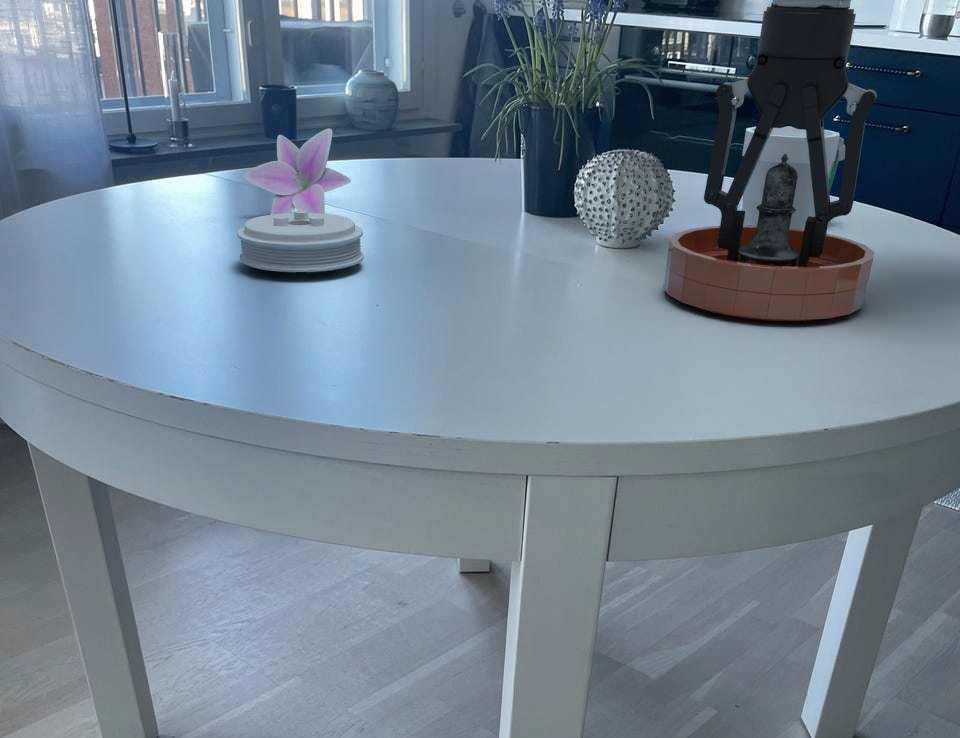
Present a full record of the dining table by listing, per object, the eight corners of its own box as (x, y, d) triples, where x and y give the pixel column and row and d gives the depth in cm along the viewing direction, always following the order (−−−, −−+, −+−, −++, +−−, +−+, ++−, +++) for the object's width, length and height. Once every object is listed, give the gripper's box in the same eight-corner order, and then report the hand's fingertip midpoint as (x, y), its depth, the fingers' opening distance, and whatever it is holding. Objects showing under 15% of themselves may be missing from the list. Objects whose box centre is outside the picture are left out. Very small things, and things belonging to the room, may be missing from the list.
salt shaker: (778, 282, 100) (801, 149, 94) (804, 297, 96) (830, 158, 89) (722, 283, 100) (742, 149, 93) (745, 299, 95) (768, 158, 88)
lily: (240, 224, 128) (226, 157, 120) (302, 175, 133) (293, 107, 124) (311, 267, 125) (302, 201, 116) (373, 216, 130) (368, 149, 121)
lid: (215, 272, 103) (209, 219, 100) (287, 248, 112) (283, 200, 110) (321, 288, 98) (317, 233, 95) (386, 262, 108) (385, 211, 105)
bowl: (865, 287, 103) (877, 235, 100) (856, 336, 88) (869, 277, 85) (683, 269, 108) (689, 219, 105) (646, 312, 93) (652, 255, 90)
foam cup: (760, 276, 106) (783, 139, 99) (709, 257, 113) (727, 127, 106) (832, 269, 109) (859, 135, 102) (778, 251, 116) (800, 125, 109)
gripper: (691, 1, 84) (658, 286, 97) (930, 8, 79) (863, 309, 92) (706, 0, 90) (673, 269, 103) (930, 7, 85) (866, 289, 98)
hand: (762, 287), depth 97 cm, fingers closed on salt shaker, 6 cm apart
